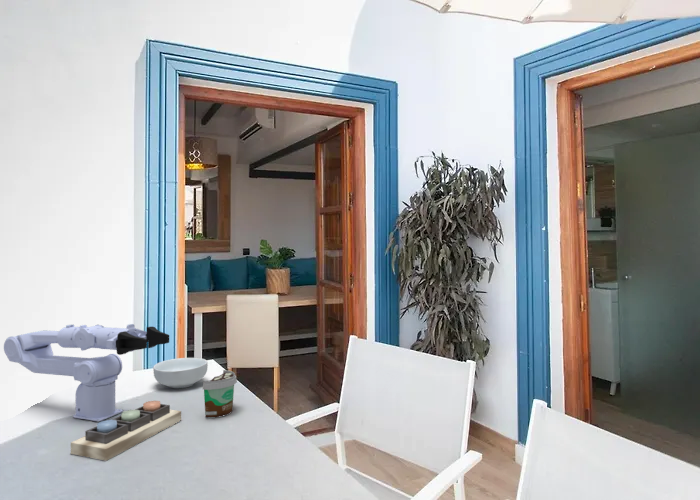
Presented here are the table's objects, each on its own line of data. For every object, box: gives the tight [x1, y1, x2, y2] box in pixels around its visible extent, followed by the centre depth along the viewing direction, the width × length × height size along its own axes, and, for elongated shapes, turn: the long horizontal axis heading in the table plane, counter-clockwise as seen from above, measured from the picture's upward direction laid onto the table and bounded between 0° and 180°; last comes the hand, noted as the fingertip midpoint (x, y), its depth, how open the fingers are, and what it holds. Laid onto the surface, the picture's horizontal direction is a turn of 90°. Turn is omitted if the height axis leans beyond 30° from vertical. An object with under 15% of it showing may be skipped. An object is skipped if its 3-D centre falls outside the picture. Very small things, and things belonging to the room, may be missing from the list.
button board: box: [70, 403, 182, 462], centre depth 112 cm, size 10×24×4 cm, turn 161°
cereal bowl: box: [153, 357, 209, 389], centre depth 153 cm, size 17×17×7 cm
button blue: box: [96, 419, 117, 433], centre depth 105 cm, size 4×4×2 cm
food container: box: [202, 369, 238, 418], centre depth 128 cm, size 12×6×10 cm, turn 168°
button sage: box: [121, 409, 140, 422], centre depth 112 cm, size 4×4×2 cm
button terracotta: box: [142, 400, 161, 412], centre depth 119 cm, size 4×4×2 cm
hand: (157, 341), depth 119 cm, fingers open, 7 cm apart
